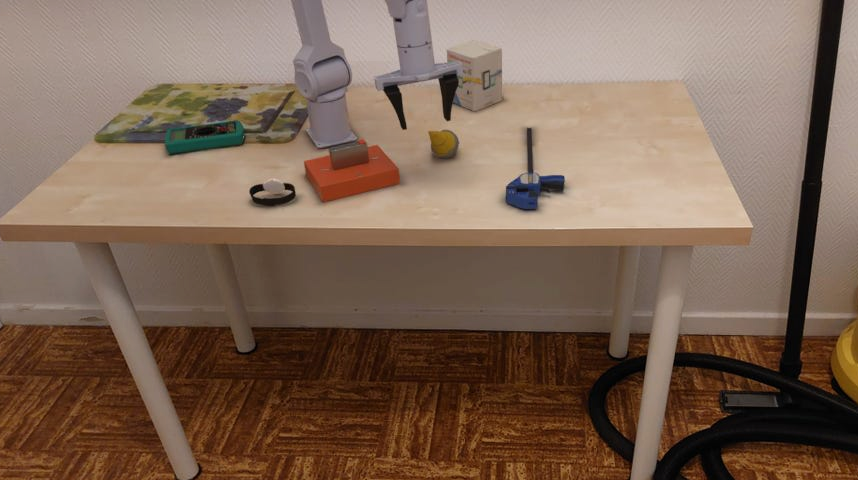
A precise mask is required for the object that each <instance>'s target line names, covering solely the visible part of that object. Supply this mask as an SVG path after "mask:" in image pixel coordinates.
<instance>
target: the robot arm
mask: <svg viewBox="0 0 858 480" xmlns="http://www.w3.org/2000/svg"><path fill="white" fill-rule="evenodd" d="M290 2H291V6H292V10H293V14H294V17H295V21H296V22H295V23H296V25H297V29H298V33H299V34H298V35H299V37H300V42H301V48H300V49H299V50H298V52H297V54H295V56H294V58H293V60H292V64H293V68H294V69H293V70H294V84H295V87H296V90H297V91H298V93H299V94H300V95H301V96H302V97H303V98H304V99H306V100H305V101H306V109H307V115H308V122H309V128H306V129H305V132H306V134H307V135H308V137H309V138H310V139H311V141H312V142H313V144H314V145H315V146H316V147H317V149H324V148H330V147H335V146H339V145H344V144H348V143H353V142H357V141H358V137H357V136H356V135H355V133H354V132H353V131H352V130H351V127H350V120H349V112H348V105H347V98H346V94H347V93H348V92H349V89H348V87H349V86H350V85H351V84H352V82H353V81H352V80H353V70H352V68H351V64H350V63H349V61H348V59H347V57H346V55H345V49H344V48H343V47H341V46H340V45H338V44H336V43H335V42H333V41H332V40H331V35H330V30H329V26H328V23H327V19H326V14H325V10H324V6H323V5H324V4H323V1H322V0H290ZM384 2H385V3H386V6H387V11H388V14H389V17H391V18H392V23H393V29H394V30H393V31H394V36H395V43H396V49H397V56H398V63H399V68H400V69H397V70H394V71H391V72H390V71H389V72H387V73H384V74H380V75H375V76H373V78H374V85H375V89H376V91H377V92H381V91H383V92H384V94H385V96H386V97H387V99H388V100H389V102H390V104H391V106H392V107H393V109H394V111H395V114H396V116H397V119H398V121H399V126H400V128H401V129H402V131H406V130H408V128H407V127H408V126H407V120H406V116H405V112H404V104H403V94H402V92H401V90H400V86H401V87H402V86H406V85H411V84H412V85H413V84H417V83H423V82H427V81H432V80H438V83H439V90H440V95H441V104H442V115H443V119H445V121H446V122H451V120H452V108H453V104H454V103H453V99H454V96H455V93H456V90H457V88H458V85H459V79H458V78H457V76H461V75H463V68H462V63H460V62H459V61H456V62H448V63H447V62H439V63H435V62H436V61H435V54H434V46H433V39H432V30H431V24H430V22H431V21H430V16H429V7H428V0H384Z"/></svg>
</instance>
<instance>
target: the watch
mask: <svg viewBox="0 0 858 480" xmlns="http://www.w3.org/2000/svg"><path fill="white" fill-rule="evenodd" d="M248 191H249V195H250V198H251V200H252V202H253V203H255V204H256V205H259V206H265V207H275V206H280V205H284V204H288V203H290V202H292V201H293V200H295V199H296V196H297V193H296V188H295V186H294V185H293V184H292V183H288V182H283V181H281V180H279V179H277V178H273V177H271V178H269V179H267V180H266V181H265V182H264V183H259V184H255V185H252V186H251V187H250V188H249V190H248ZM285 191H291V192H290V193H288V194H287V195H284V196H280V197H263V198H262V197H261V198H260V197H257V196H255V195H256V194H258V193H260V192H268V193H269V194H272V195H279V194H282V193H283V192H285Z"/></svg>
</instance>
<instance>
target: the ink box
mask: <svg viewBox="0 0 858 480" xmlns="http://www.w3.org/2000/svg"><path fill="white" fill-rule="evenodd" d="M456 61H459V62H460V63H462V68H463V75H461V76H457V78H458V79H459V85H458V88H457V90H456V93H455V96H454V99H453V103H452V104H455V105H457V106H460V107H462V108H464V109H468V110H470V111H473V112H476V111H479V110H483V109H485V108H487V107H490V106H492V105H495V104H497V103H500V102H502V101H503V48H502V47H499V46H497V45H492V44H489V43H486V42H483V41H479V40H477V39H473V40H470V41H467V42H465V43H461V44H458V45H455V46H451V47H450V48H446V63H448V62H456Z"/></svg>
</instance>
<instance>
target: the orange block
mask: <svg viewBox="0 0 858 480" xmlns="http://www.w3.org/2000/svg"><path fill="white" fill-rule="evenodd" d="M367 148H368V156H369V162H367V163H362V164H358V165H354V166H349V167H345V168H340V169H336V170H334V169H333V168H332V166H331V160H330V154H329V155H325V156H320V157H316V158H310V159H306V160H303V165H304V172H305V176H306V178H307V179H308V181H309V182H310V184H311V185H312V187H313V189H314V190H315V192H316V193H317V195H318V197H319V198H320V200H321V201H322V203H325V202H330V201H334V200H337V199H338V200H339V199H342V198H346V197H350V196H355V195H358V194H363V193H367V192H369V191H370V192H371V191H375V190H378V189H382V188H387V187H391V186H395V185H400V183H401V181H400V172H399V168H398V166H397V165H396V164H395V162H394V161H392V159H391V158H390V157H389V156H388V155H387V153H386V152H384V150H383V149H382V148H381V147H380V146H379V145H378V144H374V145H370V146H367Z"/></svg>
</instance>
